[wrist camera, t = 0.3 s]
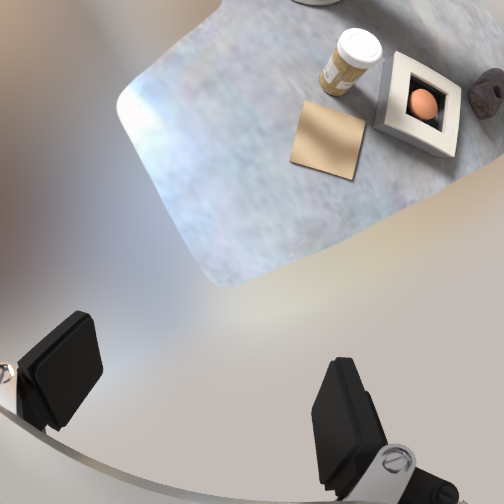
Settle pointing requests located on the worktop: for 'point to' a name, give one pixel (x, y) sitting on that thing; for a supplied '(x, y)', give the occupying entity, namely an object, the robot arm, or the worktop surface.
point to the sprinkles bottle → (350, 60)
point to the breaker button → (422, 104)
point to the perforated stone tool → (488, 93)
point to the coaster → (327, 140)
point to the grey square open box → (395, 102)
